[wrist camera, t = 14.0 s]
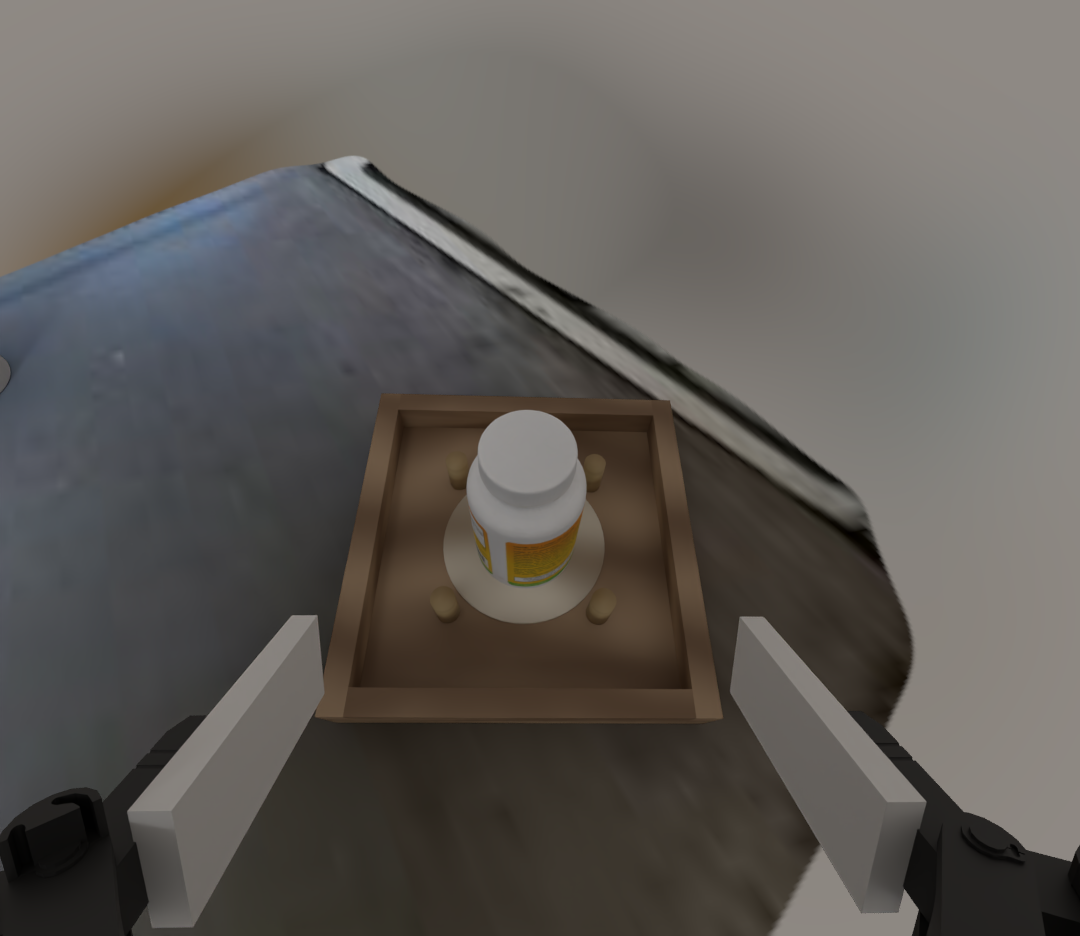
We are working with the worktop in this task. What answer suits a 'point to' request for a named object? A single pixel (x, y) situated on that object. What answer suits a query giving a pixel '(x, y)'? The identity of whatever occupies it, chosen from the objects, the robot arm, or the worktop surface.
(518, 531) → the supplement bottle
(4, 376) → the coffee cup
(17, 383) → the worktop surface
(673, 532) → the pin tray
